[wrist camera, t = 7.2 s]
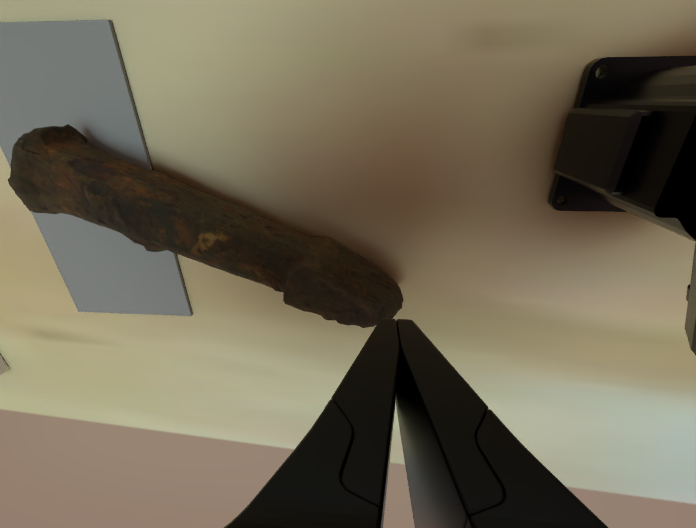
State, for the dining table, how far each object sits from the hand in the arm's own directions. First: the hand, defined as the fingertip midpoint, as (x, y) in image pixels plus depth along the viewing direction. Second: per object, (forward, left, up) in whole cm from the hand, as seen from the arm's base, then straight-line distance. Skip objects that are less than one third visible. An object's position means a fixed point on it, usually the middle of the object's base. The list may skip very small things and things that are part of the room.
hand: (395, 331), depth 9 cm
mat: (+17, -1, -10) cm, 19 cm away
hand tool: (+8, 0, -10) cm, 12 cm away
